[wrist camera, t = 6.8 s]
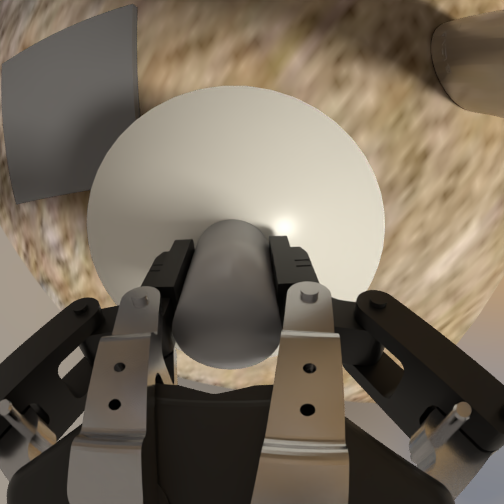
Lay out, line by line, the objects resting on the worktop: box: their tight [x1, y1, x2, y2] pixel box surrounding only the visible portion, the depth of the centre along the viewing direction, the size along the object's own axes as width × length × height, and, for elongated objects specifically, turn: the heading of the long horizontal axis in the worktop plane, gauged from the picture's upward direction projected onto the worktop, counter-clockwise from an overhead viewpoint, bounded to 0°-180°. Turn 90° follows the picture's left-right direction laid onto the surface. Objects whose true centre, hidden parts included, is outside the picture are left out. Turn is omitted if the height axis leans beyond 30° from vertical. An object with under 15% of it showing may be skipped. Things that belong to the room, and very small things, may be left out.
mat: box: [1, 4, 140, 204], centre depth 17 cm, size 15×15×1 cm
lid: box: [87, 86, 385, 369], centre depth 11 cm, size 14×14×6 cm
